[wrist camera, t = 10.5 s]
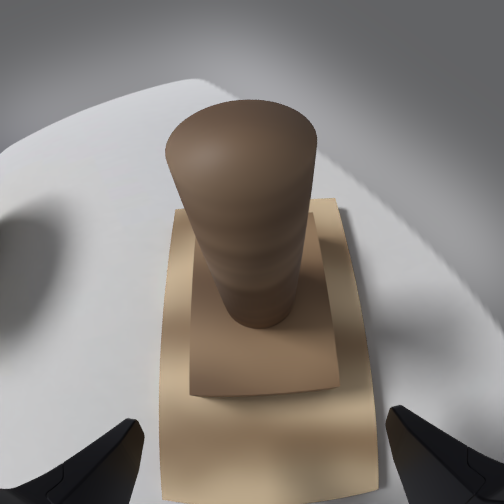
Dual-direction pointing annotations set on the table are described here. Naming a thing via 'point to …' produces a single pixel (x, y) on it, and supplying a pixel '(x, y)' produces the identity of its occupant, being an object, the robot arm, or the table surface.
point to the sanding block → (253, 252)
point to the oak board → (268, 402)
